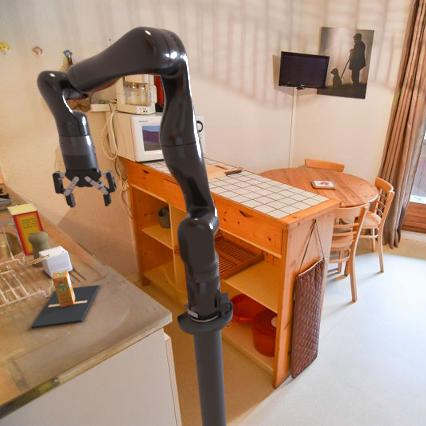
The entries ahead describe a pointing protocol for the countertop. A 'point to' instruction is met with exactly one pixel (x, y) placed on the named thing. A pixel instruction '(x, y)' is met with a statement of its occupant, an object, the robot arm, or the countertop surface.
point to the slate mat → (66, 308)
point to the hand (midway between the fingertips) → (90, 206)
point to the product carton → (56, 260)
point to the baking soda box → (25, 224)
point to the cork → (39, 244)
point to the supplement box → (63, 288)
